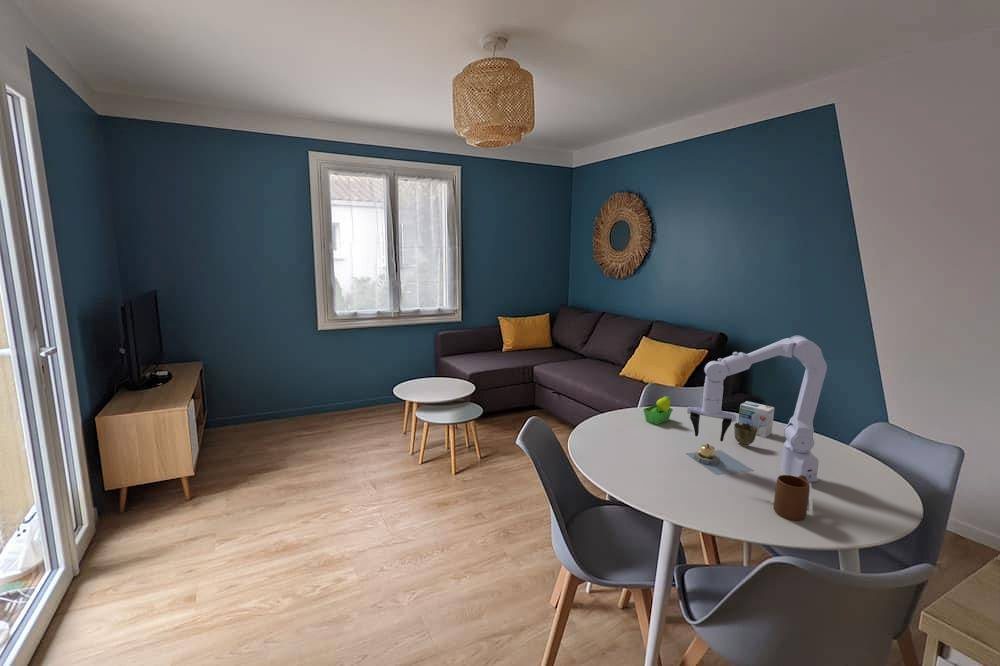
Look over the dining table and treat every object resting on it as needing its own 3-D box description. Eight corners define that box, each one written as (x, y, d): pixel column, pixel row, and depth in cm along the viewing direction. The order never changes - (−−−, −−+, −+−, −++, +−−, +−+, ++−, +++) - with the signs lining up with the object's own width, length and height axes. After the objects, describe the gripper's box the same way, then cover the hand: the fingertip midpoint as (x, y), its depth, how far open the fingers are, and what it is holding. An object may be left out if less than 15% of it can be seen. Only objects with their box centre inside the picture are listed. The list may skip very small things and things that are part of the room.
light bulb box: (736, 430, 188) (739, 403, 186) (743, 426, 192) (746, 400, 190) (765, 438, 180) (769, 410, 178) (772, 433, 184) (775, 407, 183)
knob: (713, 463, 155) (715, 449, 154) (700, 461, 156) (701, 447, 155) (712, 458, 159) (714, 444, 158) (699, 456, 160) (701, 442, 159)
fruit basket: (656, 415, 203) (658, 389, 201) (675, 421, 197) (677, 394, 195) (641, 420, 196) (643, 394, 194) (660, 427, 189) (662, 400, 188)
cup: (750, 443, 174) (752, 422, 173) (758, 451, 167) (761, 430, 166) (729, 442, 175) (731, 421, 174) (736, 450, 168) (739, 429, 167)
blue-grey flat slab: (754, 473, 150) (755, 466, 150) (715, 477, 147) (716, 470, 147) (720, 452, 166) (721, 446, 165) (684, 456, 162) (685, 449, 162)
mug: (786, 498, 135) (790, 467, 134) (816, 509, 130) (821, 477, 128) (768, 511, 128) (772, 479, 126) (799, 524, 122) (803, 491, 121)
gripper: (738, 398, 153) (734, 438, 156) (691, 391, 161) (688, 429, 163) (736, 404, 147) (732, 445, 150) (687, 396, 155) (684, 436, 157)
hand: (709, 437), depth 156 cm, fingers open, 7 cm apart
